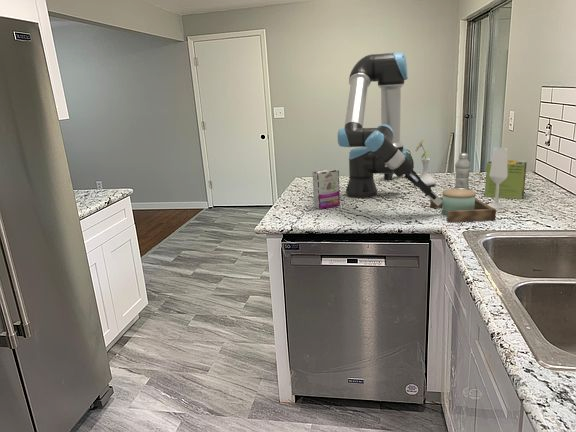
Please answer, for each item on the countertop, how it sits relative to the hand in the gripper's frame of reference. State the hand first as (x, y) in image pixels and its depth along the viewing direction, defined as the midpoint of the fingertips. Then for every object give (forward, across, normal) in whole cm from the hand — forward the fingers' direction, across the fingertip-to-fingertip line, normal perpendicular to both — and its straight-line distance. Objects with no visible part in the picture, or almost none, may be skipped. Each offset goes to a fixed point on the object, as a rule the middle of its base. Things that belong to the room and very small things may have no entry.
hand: (439, 203), depth 175 cm
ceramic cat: (+4, -78, -3) cm, 79 cm away
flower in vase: (+10, -56, +3) cm, 57 cm away
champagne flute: (+22, -8, +15) cm, 28 cm away
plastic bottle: (+16, -27, +10) cm, 33 cm away
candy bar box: (-27, -20, -34) cm, 48 cm away
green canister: (+8, 0, +2) cm, 9 cm away
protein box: (+30, -27, +23) cm, 47 cm away
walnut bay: (+9, 0, +2) cm, 9 cm away
